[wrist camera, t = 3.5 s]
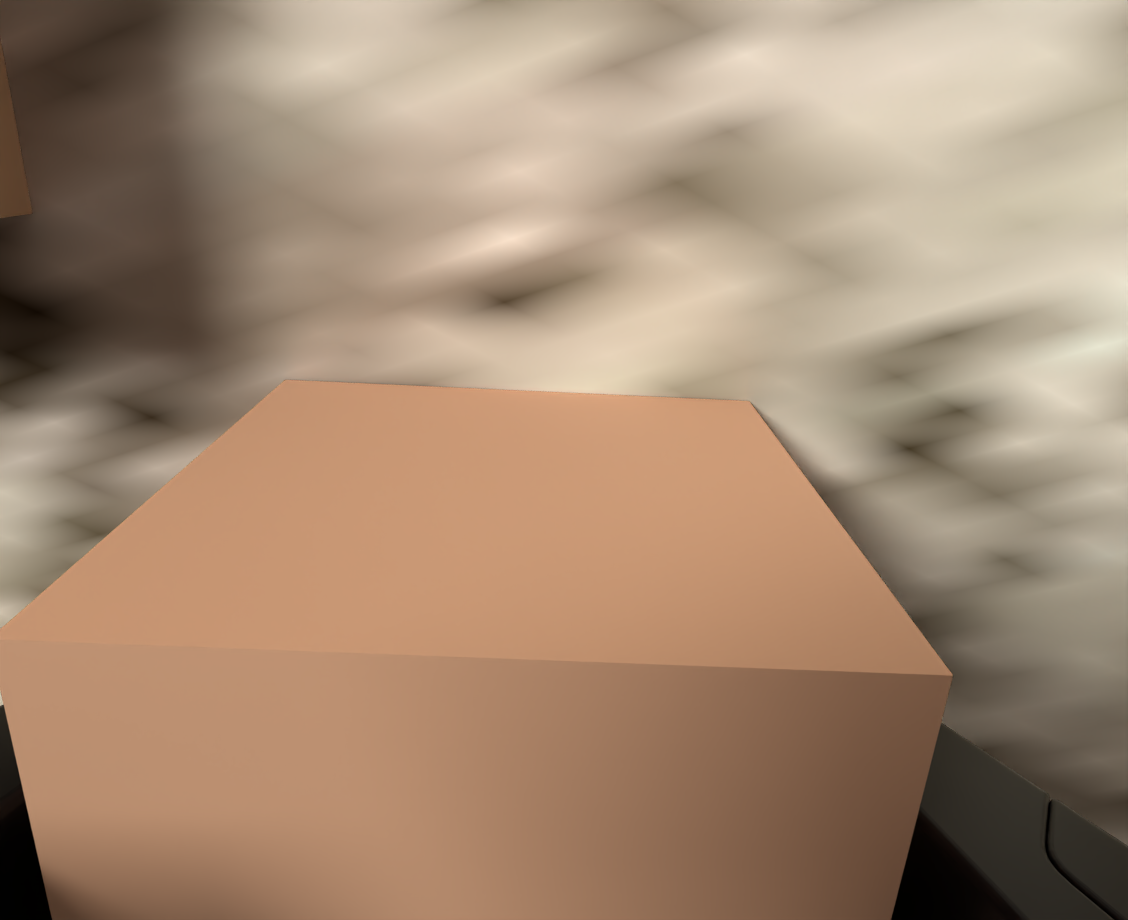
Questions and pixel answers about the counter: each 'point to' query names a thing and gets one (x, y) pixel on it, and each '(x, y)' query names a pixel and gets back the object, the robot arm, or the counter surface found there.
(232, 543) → the cube
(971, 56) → the counter surface
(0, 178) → the base slab
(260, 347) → the counter surface
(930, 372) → the counter surface
